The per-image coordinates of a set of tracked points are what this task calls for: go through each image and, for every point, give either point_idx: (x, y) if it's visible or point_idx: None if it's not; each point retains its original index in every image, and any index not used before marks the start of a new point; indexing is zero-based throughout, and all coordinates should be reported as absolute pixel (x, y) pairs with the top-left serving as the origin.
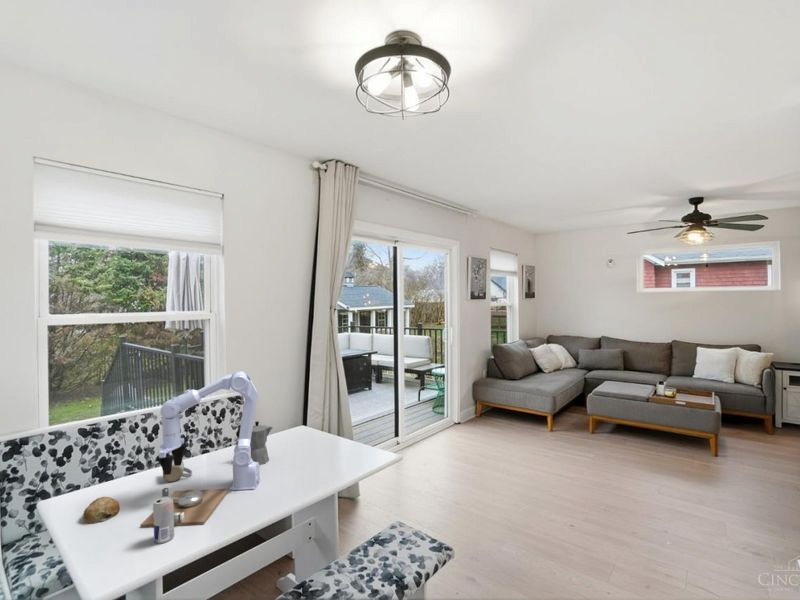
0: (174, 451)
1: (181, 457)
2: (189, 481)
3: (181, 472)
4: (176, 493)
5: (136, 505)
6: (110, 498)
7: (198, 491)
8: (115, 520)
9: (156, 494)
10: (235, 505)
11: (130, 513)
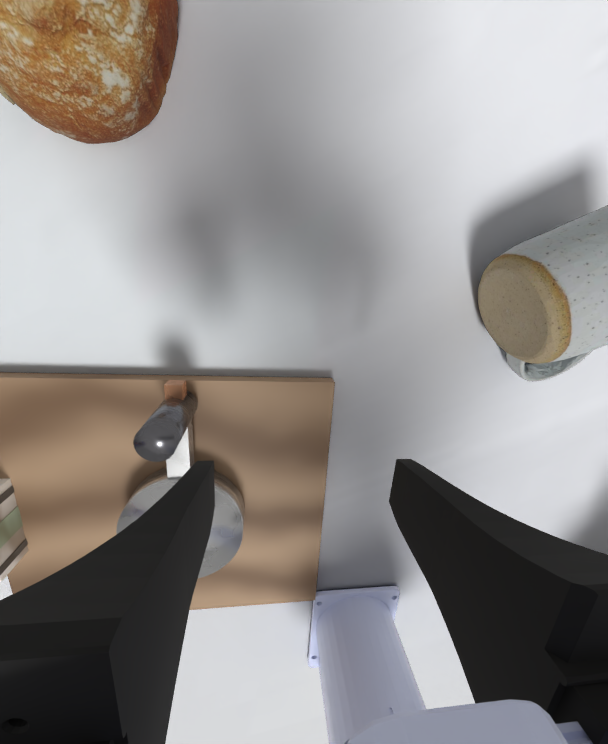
0: (499, 587)
1: (426, 576)
2: (459, 390)
3: (516, 357)
4: (300, 403)
5: (213, 217)
6: (24, 2)
7: (235, 548)
8: (25, 174)
9: (339, 276)
10: (185, 648)
11: (115, 230)
